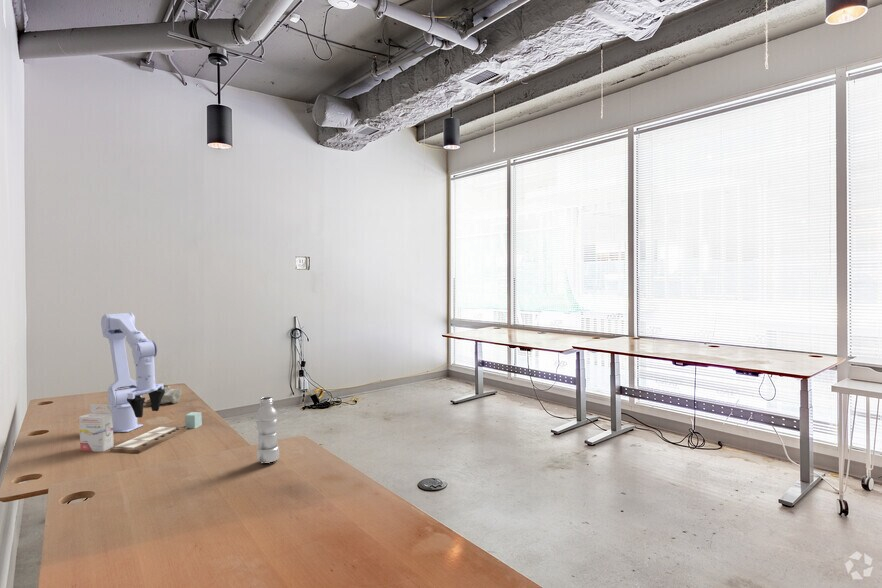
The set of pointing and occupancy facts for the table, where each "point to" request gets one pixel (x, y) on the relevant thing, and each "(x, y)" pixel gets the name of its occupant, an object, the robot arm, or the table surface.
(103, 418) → the ink cartridge box
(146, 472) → the table surface
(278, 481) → the table surface
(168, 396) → the ceramic sculpture
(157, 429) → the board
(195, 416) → the sage block
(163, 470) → the table surface
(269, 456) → the plastic bottle
